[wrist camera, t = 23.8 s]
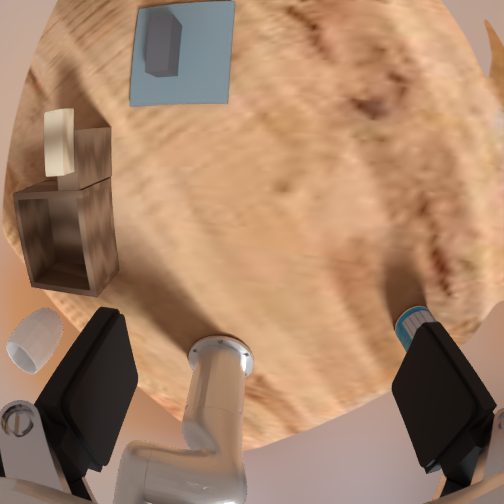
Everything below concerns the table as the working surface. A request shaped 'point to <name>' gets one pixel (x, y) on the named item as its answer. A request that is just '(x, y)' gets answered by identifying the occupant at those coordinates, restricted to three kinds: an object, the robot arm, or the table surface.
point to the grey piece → (183, 54)
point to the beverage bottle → (411, 324)
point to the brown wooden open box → (72, 222)
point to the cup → (35, 340)
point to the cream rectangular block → (59, 142)
